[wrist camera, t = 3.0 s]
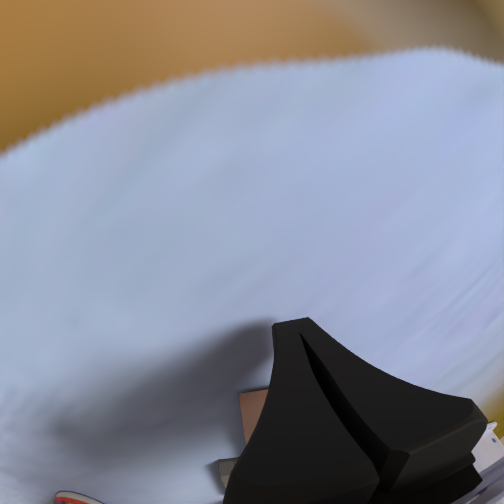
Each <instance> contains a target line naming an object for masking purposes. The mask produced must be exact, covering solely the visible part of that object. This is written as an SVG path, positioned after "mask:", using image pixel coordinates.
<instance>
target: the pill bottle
mask: <svg viewBox="0 0 504 504" xmlns="http://www.w3.org/2000/svg"><path fill="white" fill-rule="evenodd" d="M54 504H102V503H100V502H98V501H96V500H94V499H92V498H89V497H86V496H83V495H80V494H77V493H72V492H59V493H57V495H56V498H55V501H54Z"/></svg>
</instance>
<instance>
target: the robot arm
mask: <svg viewBox="0 0 504 504" xmlns="http://www.w3.org/2000/svg"><path fill="white" fill-rule="evenodd" d="M272 336H273V348H274V362H273V369H272V375H271V380H270V385H269V389H268V393H267V396H266V399H265V403H264V406H263V408H262V411H261V414H260V417H259V419H258V422H257V424H256V427H255V429H254V431H253V433H252V435H251V437H250V439H249V441H248V443H247V445H246V447H245V449H244V451H243V453H242V454H241V456H240V458H239V459H238V461H237V463H236V464H235V466H234V467H233V469H232V471H231V473H230V477H229V480H228V484H227V487H226V491H225V495H224V500H223V504H504V446H503V445H502V443H501V442H500V440H499V439H498V438H497V436H496V435H495V434H494V432H493V431H492V430H493V429H494V428H495V427H496V425H497V423H496V422H492V423H489V424H488V420H487V418H486V417H485V416H484V414H483V413H482V412H481V410H480V409H479V408H478V407H477V405H476V404H475V403H474V402H473V401H472V400H471V399H468V398H463V397H457V396H452V395H447V394H442V393H439V392H435V391H432V390H428V389H425V388H422V387H419V386H416V385H413V384H411V383H408V382H406V381H403V380H401V379H398V378H396V377H394V376H392V375H389V374H387V373H386V372H384V371H382V370H380V369H378V368H376V367H374V366H372V365H371V364H369V363H367V362H366V361H364V360H363V359H361V358H359V357H358V356H356V355H355V354H354V353H352V352H351V351H349V350H348V349H347V348H345V347H344V346H343V345H341V344H340V343H339V342H337V341H336V340H335V339H334V338H332V337H331V336H330V335H329V334H328V333H326V332H325V331H324V330H323V329H322V328H321V327H319V326H318V325H317V324H316V323H315V322H314V321H313V320H311V319H310V318H309V317H306V318H301V319H296V320H290V321H285V322H279V323H274V324H273V326H272Z"/></svg>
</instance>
